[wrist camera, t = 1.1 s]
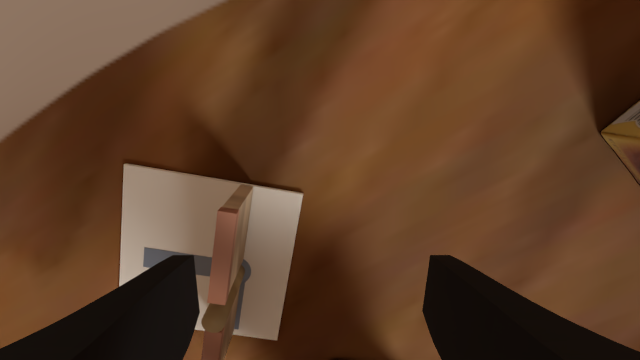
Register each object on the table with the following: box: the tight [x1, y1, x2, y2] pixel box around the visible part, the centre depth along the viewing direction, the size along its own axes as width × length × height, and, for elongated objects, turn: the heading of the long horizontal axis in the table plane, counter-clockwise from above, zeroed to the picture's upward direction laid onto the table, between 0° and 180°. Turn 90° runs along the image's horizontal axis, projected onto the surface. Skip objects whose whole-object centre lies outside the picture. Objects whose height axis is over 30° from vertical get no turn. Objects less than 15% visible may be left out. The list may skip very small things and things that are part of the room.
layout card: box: [119, 163, 303, 341], centre depth 21 cm, size 11×11×1 cm
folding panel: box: [207, 185, 253, 305], centre depth 18 cm, size 5×1×5 cm, turn 170°
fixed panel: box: [201, 265, 245, 360], centre depth 19 cm, size 5×1×5 cm, turn 169°
